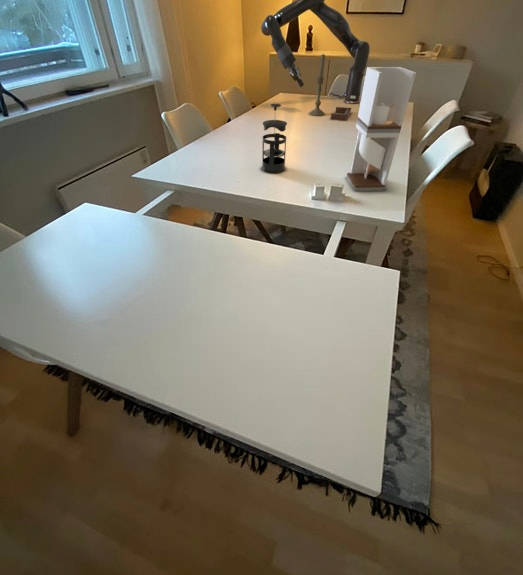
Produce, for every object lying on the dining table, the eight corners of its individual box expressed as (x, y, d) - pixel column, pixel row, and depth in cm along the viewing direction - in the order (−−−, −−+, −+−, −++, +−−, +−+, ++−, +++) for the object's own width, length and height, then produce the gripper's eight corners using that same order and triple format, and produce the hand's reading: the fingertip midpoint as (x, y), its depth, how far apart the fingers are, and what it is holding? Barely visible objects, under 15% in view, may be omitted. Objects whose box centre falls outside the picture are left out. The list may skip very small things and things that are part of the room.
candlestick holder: (326, 113, 194) (334, 52, 174) (320, 116, 188) (327, 54, 168) (313, 111, 198) (319, 51, 178) (306, 114, 192) (312, 53, 172)
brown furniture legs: (330, 119, 184) (331, 113, 182) (335, 112, 197) (336, 106, 195) (346, 120, 182) (347, 115, 180) (350, 113, 195) (351, 107, 193)
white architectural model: (346, 178, 121) (367, 67, 98) (373, 177, 121) (400, 67, 98) (354, 191, 112) (379, 72, 89) (384, 190, 113) (416, 72, 90)
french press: (282, 174, 123) (286, 108, 108) (259, 172, 124) (259, 106, 109) (287, 164, 132) (291, 100, 116) (265, 162, 133) (266, 99, 118)
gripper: (283, 58, 185) (299, 87, 192) (277, 63, 176) (294, 93, 183) (294, 49, 180) (309, 79, 188) (288, 53, 171) (305, 84, 179)
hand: (302, 86), depth 186 cm, fingers closed
